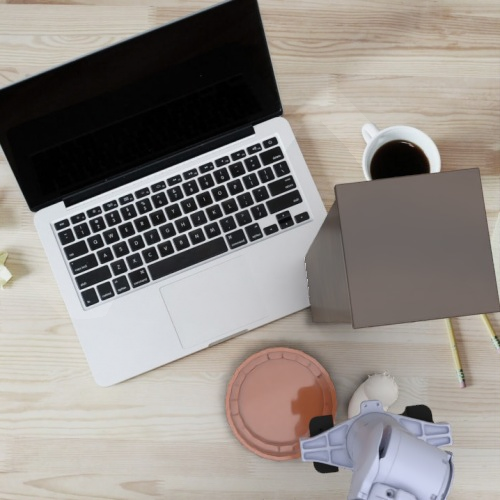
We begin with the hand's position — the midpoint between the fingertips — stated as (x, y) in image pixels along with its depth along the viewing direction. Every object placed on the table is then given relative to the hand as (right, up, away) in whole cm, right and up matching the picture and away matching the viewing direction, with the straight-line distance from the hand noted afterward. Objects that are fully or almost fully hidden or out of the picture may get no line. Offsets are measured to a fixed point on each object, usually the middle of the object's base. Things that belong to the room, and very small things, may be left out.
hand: (363, 428), depth 77 cm
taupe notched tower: (-1, +15, +11) cm, 19 cm away
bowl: (-9, +1, +10) cm, 13 cm away
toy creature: (+2, +1, +10) cm, 10 cm away
